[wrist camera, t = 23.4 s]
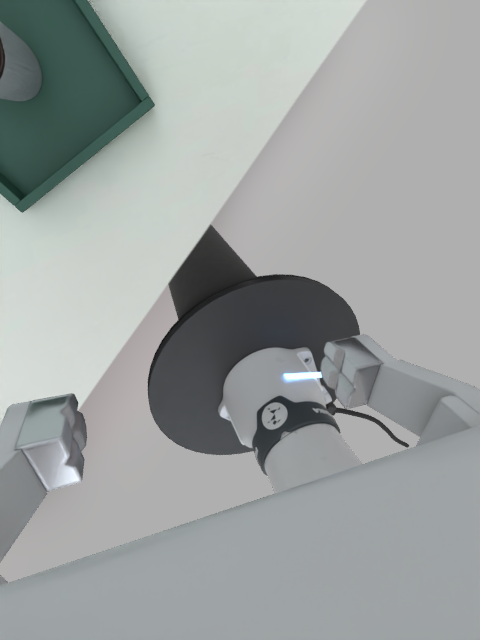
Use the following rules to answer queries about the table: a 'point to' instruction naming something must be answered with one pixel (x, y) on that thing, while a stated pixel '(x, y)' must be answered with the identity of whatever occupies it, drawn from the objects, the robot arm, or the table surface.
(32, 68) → the planter
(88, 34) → the tray
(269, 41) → the table surface
